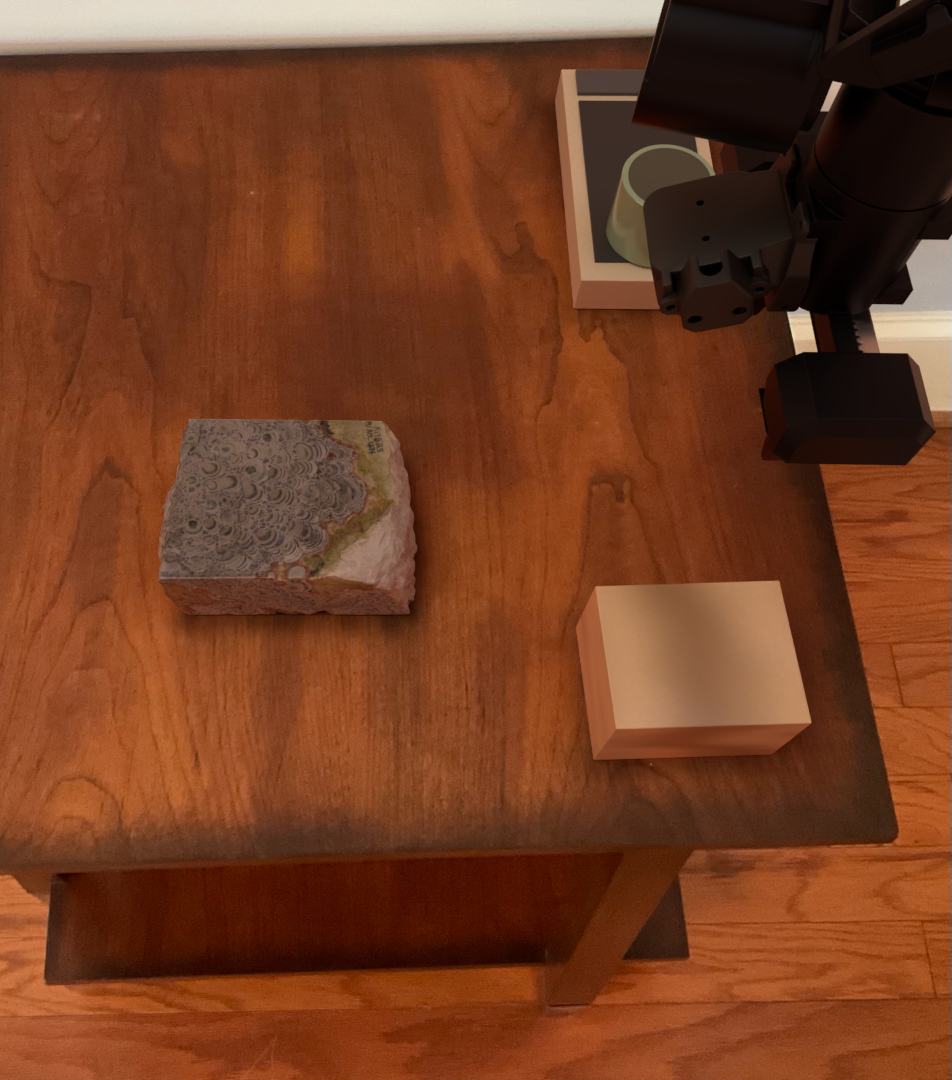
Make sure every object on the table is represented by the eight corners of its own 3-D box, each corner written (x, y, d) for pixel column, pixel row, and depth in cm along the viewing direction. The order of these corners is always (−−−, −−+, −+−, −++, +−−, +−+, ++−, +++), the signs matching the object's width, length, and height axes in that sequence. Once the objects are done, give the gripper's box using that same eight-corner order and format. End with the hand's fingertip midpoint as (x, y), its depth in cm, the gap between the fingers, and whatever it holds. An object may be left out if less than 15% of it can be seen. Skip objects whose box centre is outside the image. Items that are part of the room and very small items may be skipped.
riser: (744, 621, 64) (779, 580, 59) (772, 754, 60) (812, 723, 55) (575, 627, 64) (595, 585, 59) (593, 760, 61) (616, 729, 55)
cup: (664, 189, 75) (684, 132, 71) (712, 249, 73) (736, 194, 68) (589, 217, 74) (604, 161, 70) (635, 279, 72) (654, 226, 67)
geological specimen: (164, 417, 65) (415, 410, 64) (184, 470, 70) (415, 465, 69) (147, 576, 60) (418, 572, 59) (169, 621, 65) (419, 618, 64)
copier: (554, 101, 83) (562, 62, 80) (685, 102, 83) (698, 62, 80) (573, 309, 75) (582, 274, 71) (719, 310, 74) (736, 275, 71)
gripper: (659, 0, 48) (591, 244, 62) (712, 345, 39) (620, 537, 53) (916, 1, 47) (789, 247, 61) (1024, 349, 39) (849, 542, 53)
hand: (758, 382), depth 57 cm, fingers open, 9 cm apart
